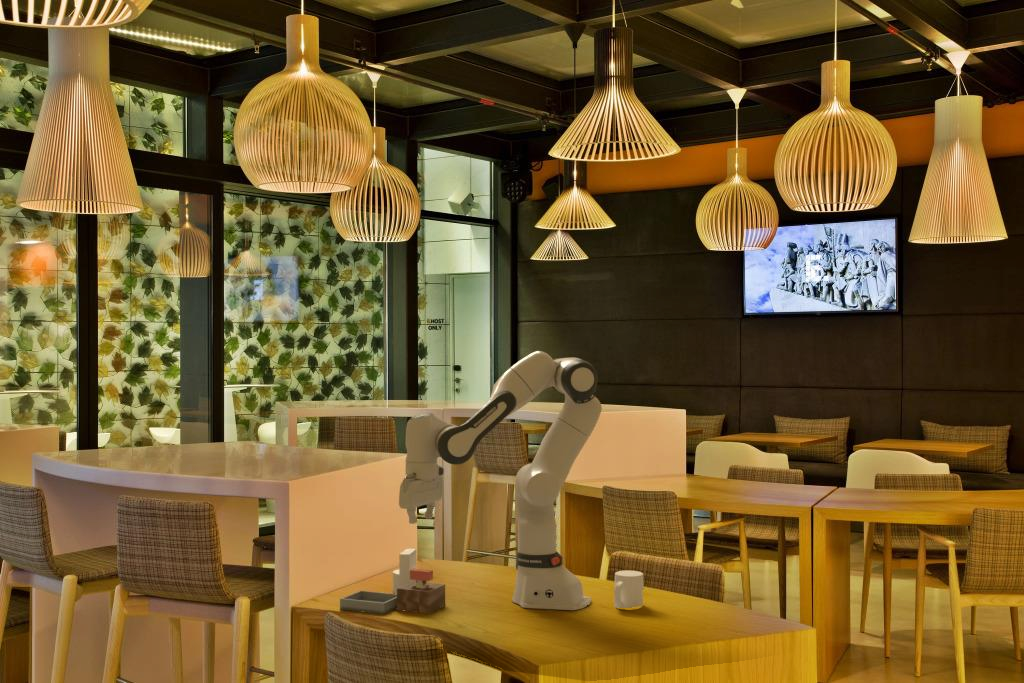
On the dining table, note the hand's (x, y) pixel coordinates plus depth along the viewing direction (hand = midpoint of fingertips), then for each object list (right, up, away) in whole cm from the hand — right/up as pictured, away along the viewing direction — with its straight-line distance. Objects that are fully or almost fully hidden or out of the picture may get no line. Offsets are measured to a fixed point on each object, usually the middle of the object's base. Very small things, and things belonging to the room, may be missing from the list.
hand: (421, 520), depth 295 cm
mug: (+58, -25, 0) cm, 63 cm away
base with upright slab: (-6, -25, +20) cm, 32 cm away
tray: (-14, -24, +1) cm, 28 cm away
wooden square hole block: (0, -24, 0) cm, 24 cm away
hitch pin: (0, -24, 0) cm, 24 cm away
